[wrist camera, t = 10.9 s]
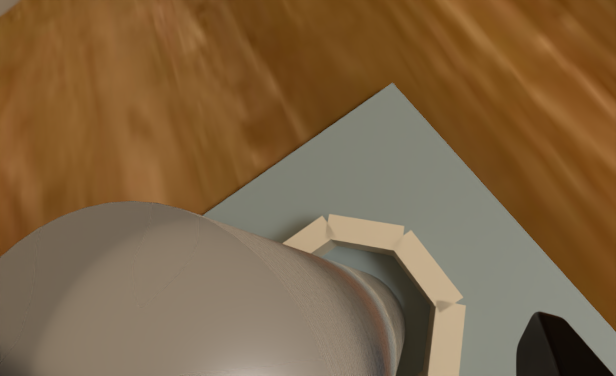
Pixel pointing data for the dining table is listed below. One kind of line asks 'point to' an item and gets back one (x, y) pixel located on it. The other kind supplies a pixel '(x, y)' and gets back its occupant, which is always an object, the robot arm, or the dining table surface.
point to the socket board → (417, 239)
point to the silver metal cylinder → (186, 302)
